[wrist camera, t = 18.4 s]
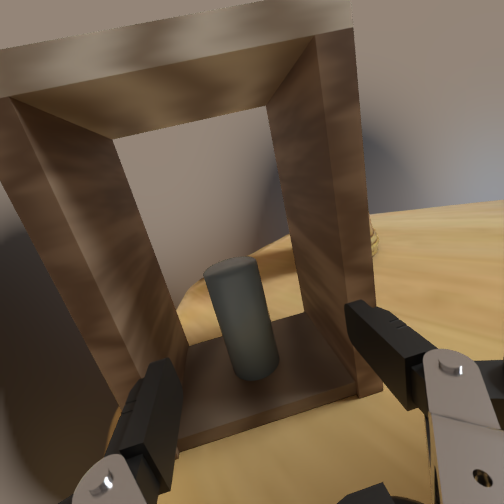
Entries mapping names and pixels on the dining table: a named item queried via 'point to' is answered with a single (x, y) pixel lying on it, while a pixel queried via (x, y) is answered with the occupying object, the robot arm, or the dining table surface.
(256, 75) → the open wooden box frame
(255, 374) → the grey cylinder
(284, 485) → the dining table surface
